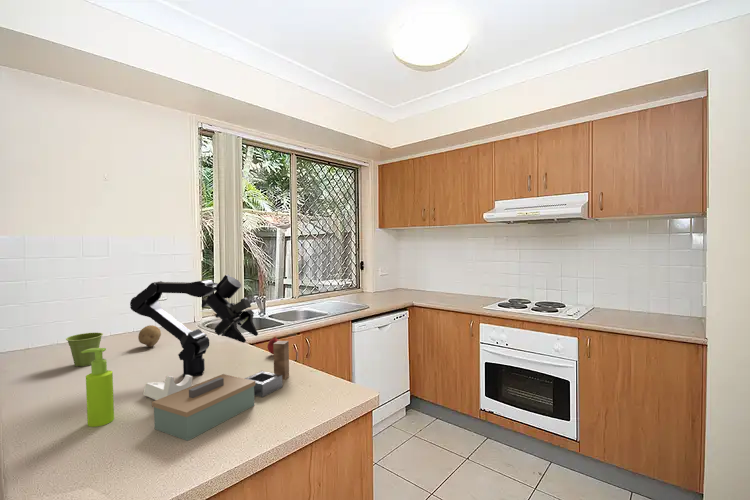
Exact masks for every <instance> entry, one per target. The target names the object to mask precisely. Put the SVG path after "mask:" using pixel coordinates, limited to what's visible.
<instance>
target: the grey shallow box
mask: <svg viewBox="0 0 750 500" xmlns="http://www.w3.org/2000/svg"><path fill="white" fill-rule="evenodd" d="M244 379H248V380H253V381H255V386H254V391H255V396H256V397H260V398H264V397H266V396H268V395H270V394H272V393H274V392H276V391H278V390H279V389H282V388H283V380H282V375H279V374H274V372H268V371H262V370H261V371H259V372H256V373H254V374H251V375H250V376H247V377H245V378H244ZM255 396H254V397H255Z"/></svg>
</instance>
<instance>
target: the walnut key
mask: <svg viewBox="0 0 750 500" xmlns="http://www.w3.org/2000/svg"><path fill="white" fill-rule="evenodd" d="M289 345H290V344H289V340H280V341H277V342H275V343H274V344H273V351H274V355H273V373H274V374H279V375H282V381H285V380H286V379H288V378H289V376H290V351H289V349H290V348H289V347H290V346H289Z"/></svg>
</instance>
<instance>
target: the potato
mask: <svg viewBox="0 0 750 500" xmlns="http://www.w3.org/2000/svg"><path fill="white" fill-rule="evenodd" d="M161 331H162V330H161V329H160V328H159V327H158V326H156V325H150V324H149V325H147V326H145V327H143V328H141V330H139V333H138V335H137V337H138V342H139V344H142V345H145V346H147V347H149V348H151V347H154V346H156V345H157V343H158V342H159V340H160V339H161V336H162V332H161Z"/></svg>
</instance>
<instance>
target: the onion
mask: <svg viewBox="0 0 750 500" xmlns="http://www.w3.org/2000/svg"><path fill="white" fill-rule="evenodd" d="M277 341H281V340H280V339H278V338H277V336H276V335H273V337H272V338H271V339H270V340H269V341H268V343H267V347H266V348H267V350H268V352H269V353H270V354H272V355H273V356H274V351H273V344H274V343H275V342H277Z"/></svg>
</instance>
